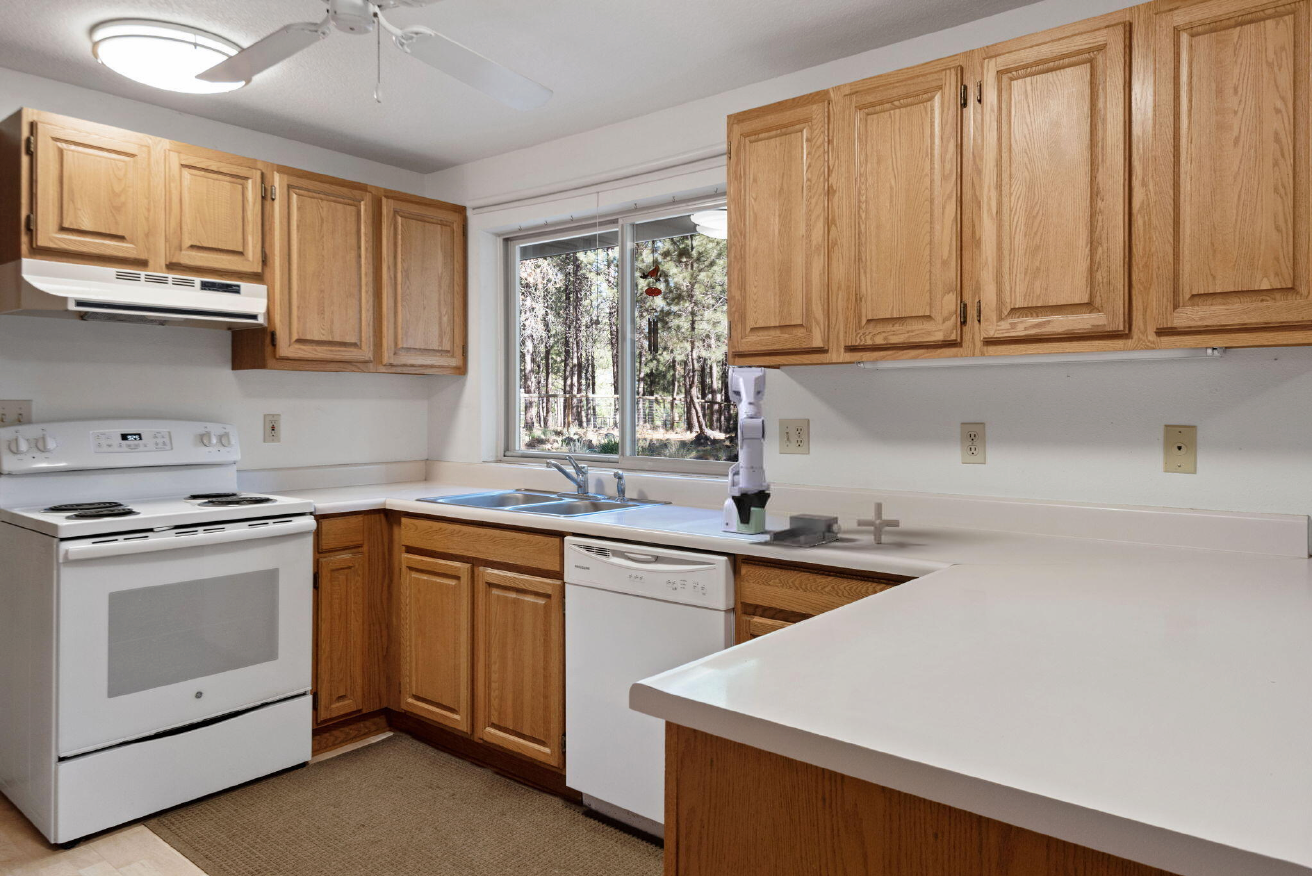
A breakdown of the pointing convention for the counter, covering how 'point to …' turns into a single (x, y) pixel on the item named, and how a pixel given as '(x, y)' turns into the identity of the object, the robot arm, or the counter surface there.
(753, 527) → the pale mint cube
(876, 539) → the pipe connector
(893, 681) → the counter surface
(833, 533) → the motor mount
